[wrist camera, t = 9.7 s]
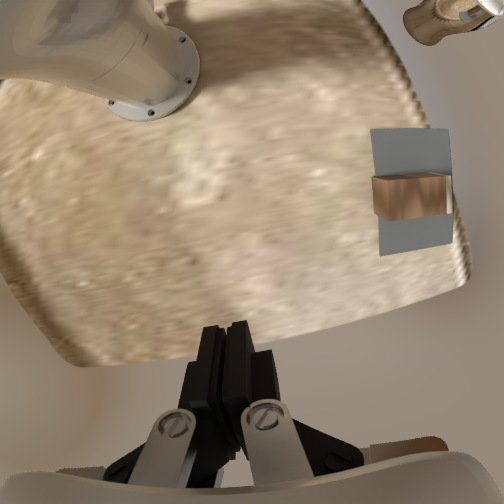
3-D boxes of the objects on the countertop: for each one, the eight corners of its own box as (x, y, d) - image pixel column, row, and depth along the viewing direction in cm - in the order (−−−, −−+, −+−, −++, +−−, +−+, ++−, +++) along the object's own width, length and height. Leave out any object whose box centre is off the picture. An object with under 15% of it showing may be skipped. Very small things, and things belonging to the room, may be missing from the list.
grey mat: (370, 129, 32) (371, 129, 32) (446, 129, 32) (448, 128, 32) (379, 255, 37) (380, 256, 37) (450, 242, 37) (451, 243, 37)
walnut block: (387, 180, 30) (450, 175, 29) (371, 176, 34) (431, 172, 34) (389, 221, 31) (451, 213, 31) (374, 213, 35) (432, 205, 35)
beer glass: (392, 24, 28) (453, -20, 13) (409, -2, 26) (466, -45, 11) (432, 58, 29) (503, 32, 14) (447, 29, 27) (512, 1, 13)
